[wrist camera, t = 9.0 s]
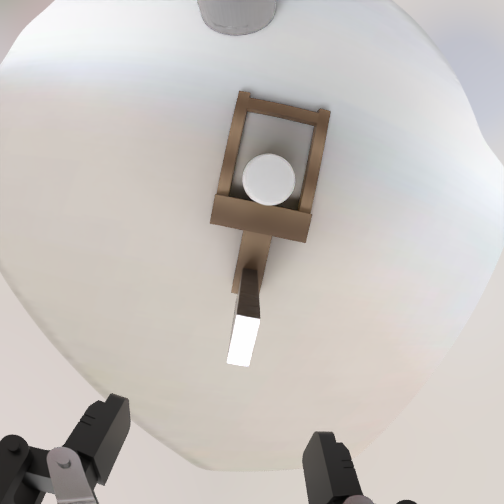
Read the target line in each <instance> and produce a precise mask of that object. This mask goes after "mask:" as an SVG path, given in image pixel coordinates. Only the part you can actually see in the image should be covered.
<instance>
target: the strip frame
mask: <svg viewBox="0 0 504 504" xmlns="http://www.w3.org/2000/svg"><path fill="white" fill-rule="evenodd" d="M247 111H248V112H254V113H259V114H264V115H269V116H274V117H279V118H283V119H288V120H292V121H296V122H300V123H304V124H308V125H312V126H314V131H313V136H312V141H311V146H310V151H309V156H308V161H307V166H306V171H305V176H304V181H303V186H302V190H301V195H300V200H299V204H298V209H297V210H293V209H289V208H284V207H279V206H275V205H272V206H267V205H262V204H259V203H257V202H255V201H251V200H246V199H241V198H236V197H230V196H229V194H230V189H231V184H232V179H233V174H234V169H235V164H236V160H237V155H238V150H239V146H240V141H241V137H242V132H243V127H244V123H245V119H246V114H247ZM330 112H331V111H328V110H324V109H321V108H320V109H319V110H318V111H317V113H316V112H313V111H309V110H305V109H301V108H297V107H293V106H288V105H284V104H279V103H275V102H270V101H265V100H259V99H254V98H250V93H249V92H243V91H239V94H238V98H237V102H236V106H235V111H234V115H233V119H232V124H231V128H230V133H229V137H228V142H227V146H226V151H225V155H224V160H223V165H222V170H221V175H220V179H219V184H218V189H217V194H215V199H214V204H213V209H212V214H211V220H210V224H215V225H220V226H225V227H230V228H235V229H240V230H244V231H243V235H242V240H241V245H240V250H239V255H238V260H237V266H236V271H235V276H234V281H233V286H232V291H231V293H236V294H237V299H236V304H235V311H234V318H233V324H232V331H231V338H230V344H229V351H228V358H227V363H230V364H235V365H241V366H246V367H249V363H250V359H251V355H252V351H253V347H254V343H255V339H256V335H257V331H258V327H259V322H260V305H259V292H260V288H261V284H262V279H263V275H264V270H265V266H266V261H267V257H268V252H269V248H270V243H271V239H272V236H275V237H279V238H284V239H289V240H294V241H298V242H303V243H306V239H307V235H308V230H309V226H310V222H311V217H312V214H310V213H311V208H312V203H313V199H314V194H315V189H316V185H317V180H318V175H319V170H320V165H321V160H322V155H323V150H324V145H325V139H326V134H327V129H328V123H329V117H330Z"/></svg>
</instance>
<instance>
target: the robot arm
mask: <svg viewBox="0 0 504 504" xmlns="http://www.w3.org/2000/svg"><path fill="white" fill-rule="evenodd" d="M197 2H198V5H199V9H200V12H201V15H202V18H203V20H204V22H205V24H206V25H208V26H209V27H210V28H211V29H213V30H214V31H217V32H219V33H222V34H228V35H245V34H249V33H253V32H256V31H258V30H261V29H262V28H264V27H265V26H267V25H268V24H269V23H270V22H271V20H272V19H273V17H274V14H275V8H276V0H197ZM129 429H130V410H129V400H128V398H124V397H121V396H118V395H116V394H113V393H112V394H110V395H109V397H108V398H107V400H106V402H102V401H99V400H98V401H96V402H95V403H93V404H92V405H90V406H89V407H88V409H87V410H86V412H85V413H84V415H83V416H82V418H81V419H80V422H78V424H77V425H76V427H75V429H74V430H73V432H72V433H71V435H70V436H69V438H68V439H67V441H66V443H65V444H64V445H63V446H62V447H57V448H54V449H52V450H43V449H39V448H35V447H31V446H28V444H27V442H26V441H25V440H24V439H23V438H22V437H20V436H18V435H8V436H5V437H4V438H3V439H2V440H1V441H0V504H41V502H42V500H43V498H44V496H45V494H46V492H48V493H52V494H55V496H56V499H57V503H58V504H99V502H98V500H97V497H96V495H95V492H94V487H95V486H96V484H97V483H98V484H101V485H103V486H104V485H105V483H106V481H107V479H108V476H109V474H110V472H111V470H112V467H113V465H114V463H115V461H116V459H117V456H118V454H119V452H120V450H121V447H122V445H123V443H124V441H125V439H126V437H127V434H128V432H129ZM351 460H352V459H351V456H350V453H349V450H348V449H347V448H346V447H345V446H344V444H343V443H336V440H335V436H334V434H333V432H317V431H316V432H314V434H313V436H312V438H311V439H310V441H309V443H308V445H307V447H306V449H305V451H304V453H303V459H302V463H303V469H304V475H305V481H306V488H307V495H308V501H309V504H374V503H373V502H372V500H371V499H369V498H368V497H366V496H364V495H363V493H362V491H361V487H360V484H359V481H358V478H357V475H356V471H355V469H354V465H353V462H352V461H351ZM397 504H416V503H415V502H413V501H411V500H402V501H399V502H398V503H397Z"/></svg>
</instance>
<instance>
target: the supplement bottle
mask: <svg viewBox="0 0 504 504" xmlns="http://www.w3.org/2000/svg"><path fill="white" fill-rule="evenodd" d="M242 183H243V187H244V189H245V192H246V193H247V195H248V196H249V197H250V198H251V199H252V200H254V201H255V202H257V203H259V204H262V205H267V206H272V205H277V204H280V203H282V202H284V201H285V200H286V199H287V198H288V197H289V196H290V195H291V193H292V192H293V190H294V187H295V173H294V170H293V168H292V166H291V165H290V164H289V162H288V161H287V160H285V159H284V158H282V157H281V156H278V155H275V154H262V155H259V156H256V157H255V158H253V159H252V160H251V161H250V162H249V163H248V164H247V165H246V167H245V169H244V171H243V176H242Z"/></svg>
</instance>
